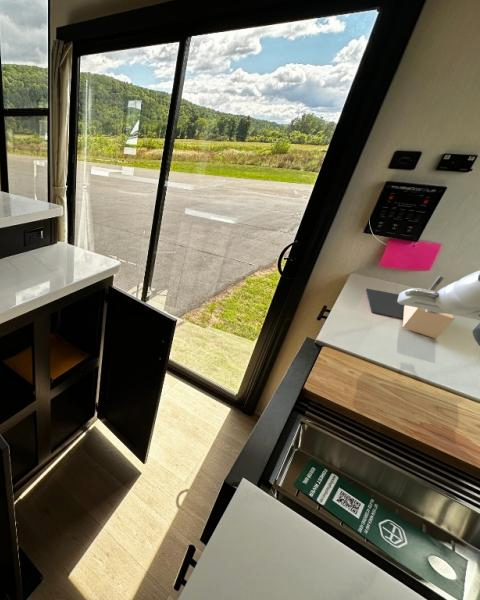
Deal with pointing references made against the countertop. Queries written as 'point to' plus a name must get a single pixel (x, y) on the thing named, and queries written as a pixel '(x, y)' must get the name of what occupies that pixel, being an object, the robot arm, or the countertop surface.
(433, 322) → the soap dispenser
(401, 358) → the countertop surface
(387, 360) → the countertop surface
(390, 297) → the mat
